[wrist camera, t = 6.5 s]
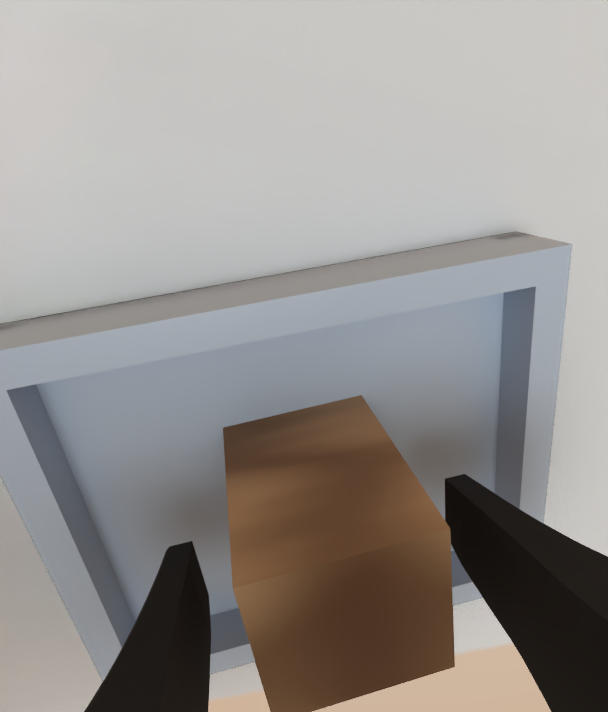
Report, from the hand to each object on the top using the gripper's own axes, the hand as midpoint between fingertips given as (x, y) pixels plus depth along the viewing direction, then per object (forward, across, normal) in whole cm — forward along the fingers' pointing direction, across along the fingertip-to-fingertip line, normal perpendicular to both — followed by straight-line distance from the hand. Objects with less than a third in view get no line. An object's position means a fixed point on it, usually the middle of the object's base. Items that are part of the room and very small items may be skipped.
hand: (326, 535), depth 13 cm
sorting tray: (+4, 0, 0) cm, 4 cm away
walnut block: (+3, 0, 0) cm, 3 cm away
